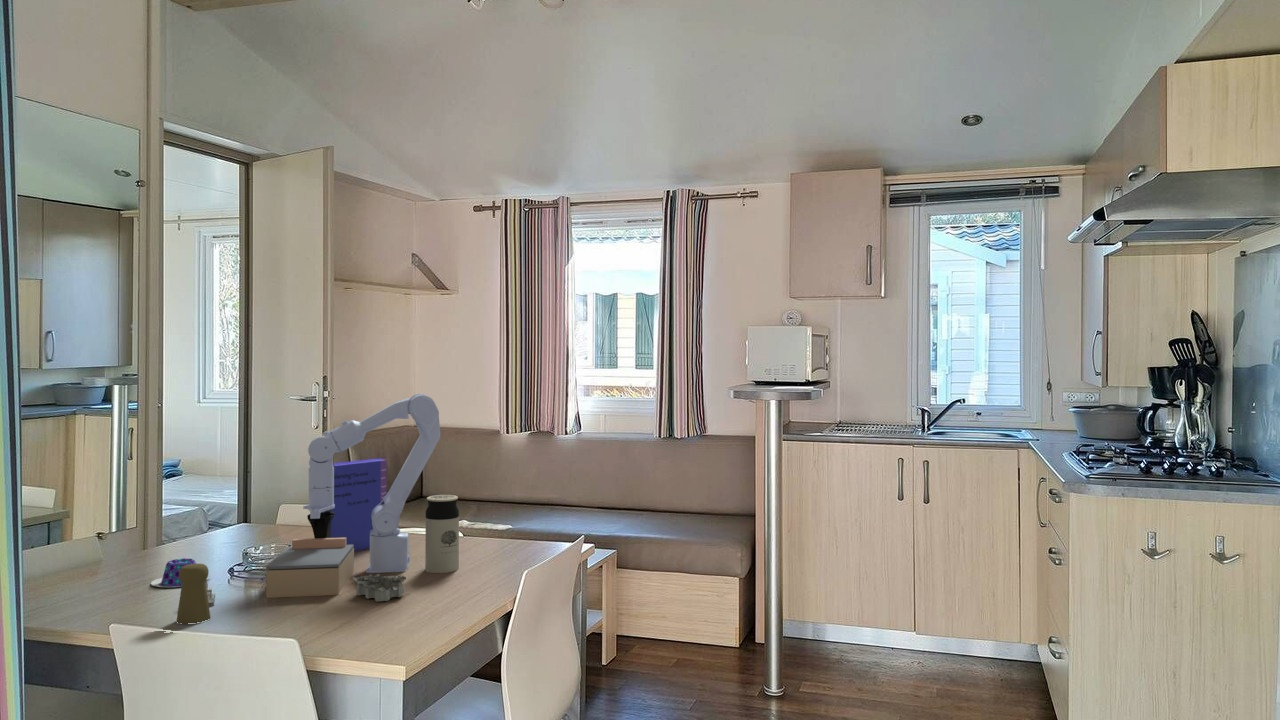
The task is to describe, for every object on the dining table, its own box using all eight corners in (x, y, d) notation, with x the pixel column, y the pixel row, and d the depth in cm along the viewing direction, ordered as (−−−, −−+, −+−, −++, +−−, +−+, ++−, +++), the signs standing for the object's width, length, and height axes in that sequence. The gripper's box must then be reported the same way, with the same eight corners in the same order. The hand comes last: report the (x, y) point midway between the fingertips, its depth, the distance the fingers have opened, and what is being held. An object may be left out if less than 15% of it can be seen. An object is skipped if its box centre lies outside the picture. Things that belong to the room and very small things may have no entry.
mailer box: (353, 572, 207) (353, 548, 207) (338, 595, 187) (338, 568, 187) (288, 575, 204) (288, 550, 204) (266, 598, 185) (266, 570, 185)
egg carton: (408, 595, 185) (408, 576, 185) (378, 604, 179) (377, 585, 179) (381, 584, 192) (381, 566, 192) (351, 593, 186) (350, 574, 186)
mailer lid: (353, 546, 207) (353, 536, 207) (338, 566, 187) (338, 555, 187) (288, 549, 204) (288, 538, 204) (265, 569, 184) (265, 557, 184)
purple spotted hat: (142, 583, 197) (143, 561, 197) (197, 574, 206) (197, 552, 206) (162, 593, 189) (162, 569, 189) (218, 583, 198) (218, 560, 198)
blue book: (375, 543, 239) (375, 458, 239) (386, 546, 236) (386, 459, 236) (319, 555, 225) (320, 464, 225) (330, 557, 222) (331, 465, 222)
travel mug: (422, 568, 211) (422, 495, 211) (454, 565, 215) (455, 493, 215) (428, 576, 204) (429, 500, 204) (462, 572, 207) (462, 498, 207)
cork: (184, 615, 172) (184, 561, 172) (215, 615, 172) (215, 560, 172) (170, 625, 166) (170, 568, 166) (203, 624, 166) (203, 568, 166)
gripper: (310, 482, 212) (310, 537, 212) (296, 491, 197) (296, 550, 197) (340, 482, 213) (340, 536, 213) (328, 491, 199) (328, 549, 199)
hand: (321, 543), depth 205 cm, fingers closed
